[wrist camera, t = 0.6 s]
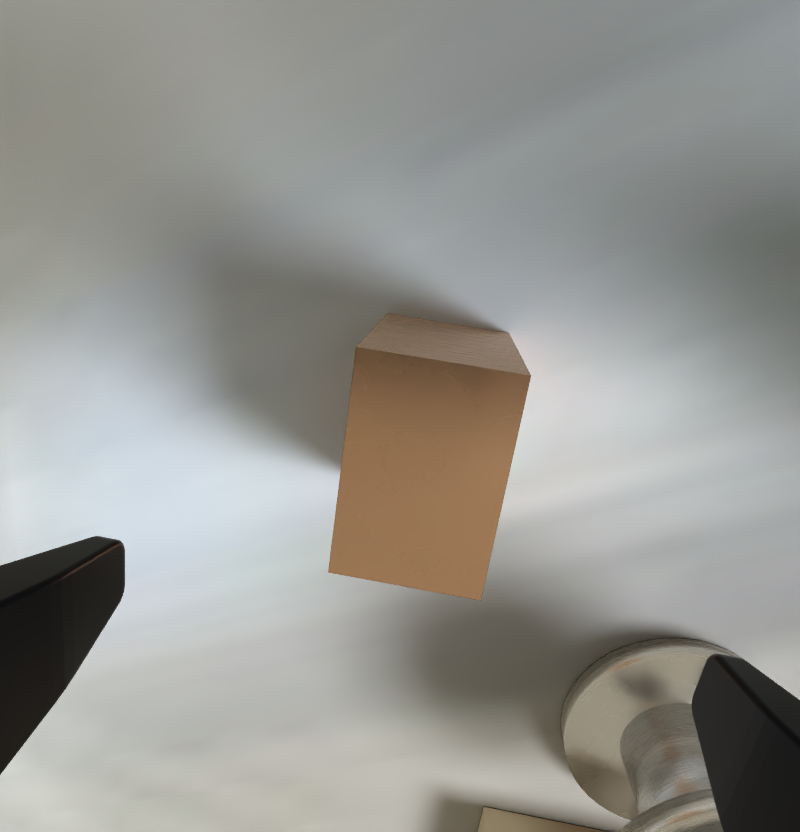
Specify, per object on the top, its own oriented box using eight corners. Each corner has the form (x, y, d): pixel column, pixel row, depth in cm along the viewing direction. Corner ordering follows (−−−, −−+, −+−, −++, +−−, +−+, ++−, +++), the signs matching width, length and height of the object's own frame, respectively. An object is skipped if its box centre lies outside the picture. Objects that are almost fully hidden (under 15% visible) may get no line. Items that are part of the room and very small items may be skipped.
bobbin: (808, 660, 21) (970, 857, 14) (736, 819, 23) (847, 1051, 17) (588, 620, 21) (647, 793, 15) (540, 780, 24) (573, 992, 17)
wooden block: (508, 332, 19) (530, 375, 13) (474, 499, 20) (481, 600, 15) (387, 313, 19) (356, 346, 13) (364, 479, 21) (328, 572, 15)
